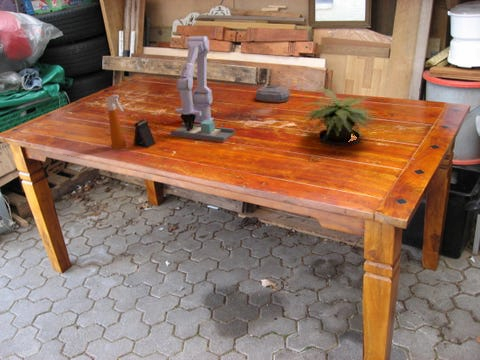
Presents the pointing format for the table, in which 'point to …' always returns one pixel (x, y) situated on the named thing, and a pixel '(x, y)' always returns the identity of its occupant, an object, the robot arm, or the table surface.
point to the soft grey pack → (272, 94)
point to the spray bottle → (115, 123)
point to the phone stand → (143, 135)
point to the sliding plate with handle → (199, 130)
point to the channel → (219, 137)
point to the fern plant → (340, 120)
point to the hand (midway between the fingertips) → (189, 127)
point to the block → (207, 126)
